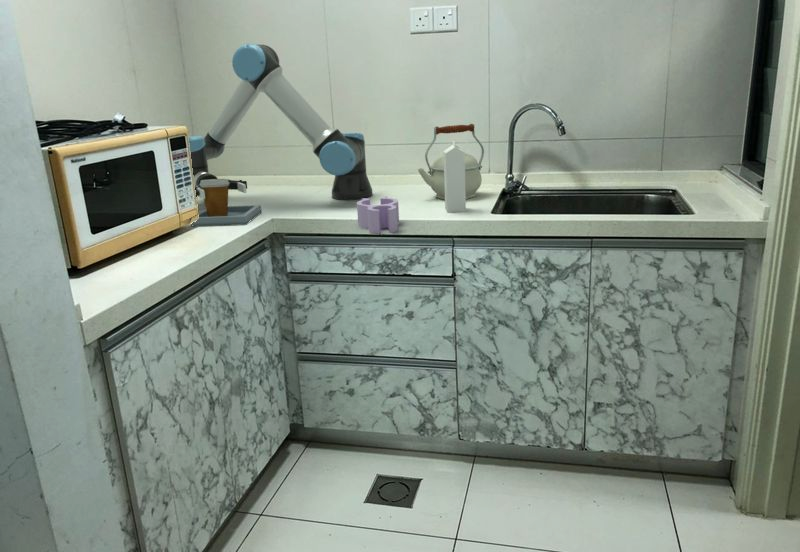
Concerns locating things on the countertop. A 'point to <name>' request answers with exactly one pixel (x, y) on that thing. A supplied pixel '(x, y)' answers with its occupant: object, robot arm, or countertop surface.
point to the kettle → (437, 172)
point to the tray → (229, 216)
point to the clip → (378, 215)
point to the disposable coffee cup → (216, 196)
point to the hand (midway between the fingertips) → (224, 191)
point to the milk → (454, 179)
